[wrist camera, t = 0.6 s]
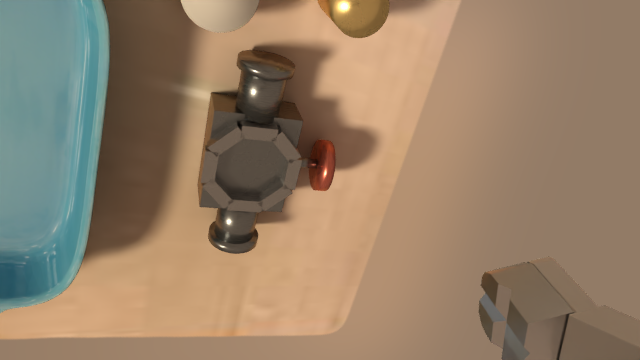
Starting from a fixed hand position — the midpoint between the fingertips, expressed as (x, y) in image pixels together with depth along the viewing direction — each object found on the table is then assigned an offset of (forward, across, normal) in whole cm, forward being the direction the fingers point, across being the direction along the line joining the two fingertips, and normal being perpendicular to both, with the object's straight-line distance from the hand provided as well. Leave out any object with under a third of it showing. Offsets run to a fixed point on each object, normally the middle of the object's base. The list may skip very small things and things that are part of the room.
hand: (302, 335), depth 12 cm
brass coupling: (+41, -12, +4) cm, 43 cm away
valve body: (+41, -3, +18) cm, 44 cm away
